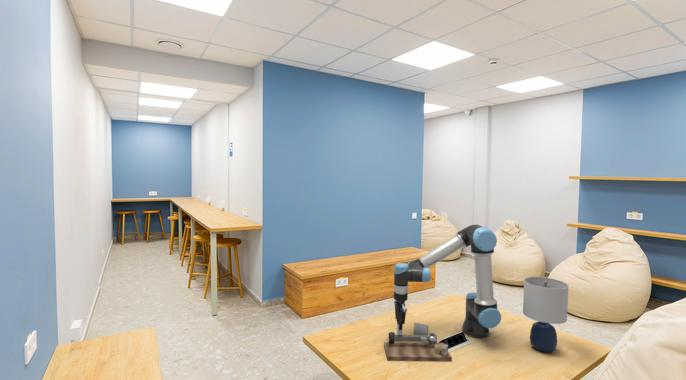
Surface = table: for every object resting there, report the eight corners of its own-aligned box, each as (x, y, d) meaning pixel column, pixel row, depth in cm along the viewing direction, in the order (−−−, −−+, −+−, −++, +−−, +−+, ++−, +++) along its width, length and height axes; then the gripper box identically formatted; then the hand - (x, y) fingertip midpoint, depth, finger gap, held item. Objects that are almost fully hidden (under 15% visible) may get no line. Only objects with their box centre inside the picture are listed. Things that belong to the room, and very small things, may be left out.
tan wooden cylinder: (441, 350, 182) (441, 343, 182) (443, 354, 178) (443, 347, 178) (433, 350, 182) (433, 343, 182) (435, 354, 178) (435, 347, 178)
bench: (443, 346, 191) (443, 335, 190) (451, 361, 176) (452, 349, 175) (383, 345, 191) (384, 334, 190) (387, 360, 176) (387, 348, 175)
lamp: (559, 343, 195) (562, 278, 193) (570, 362, 176) (573, 289, 174) (519, 337, 202) (521, 274, 200) (524, 354, 183) (527, 284, 181)
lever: (435, 340, 189) (435, 331, 189) (438, 345, 184) (438, 336, 184) (387, 340, 189) (388, 331, 189) (389, 345, 184) (389, 335, 184)
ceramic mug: (428, 340, 197) (428, 327, 197) (413, 339, 198) (413, 325, 198) (427, 332, 207) (428, 319, 207) (413, 331, 209) (413, 318, 209)
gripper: (390, 288, 198) (389, 329, 199) (398, 296, 185) (397, 340, 187) (402, 287, 200) (401, 328, 201) (411, 296, 187) (410, 339, 188)
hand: (399, 334), depth 194 cm, fingers closed
